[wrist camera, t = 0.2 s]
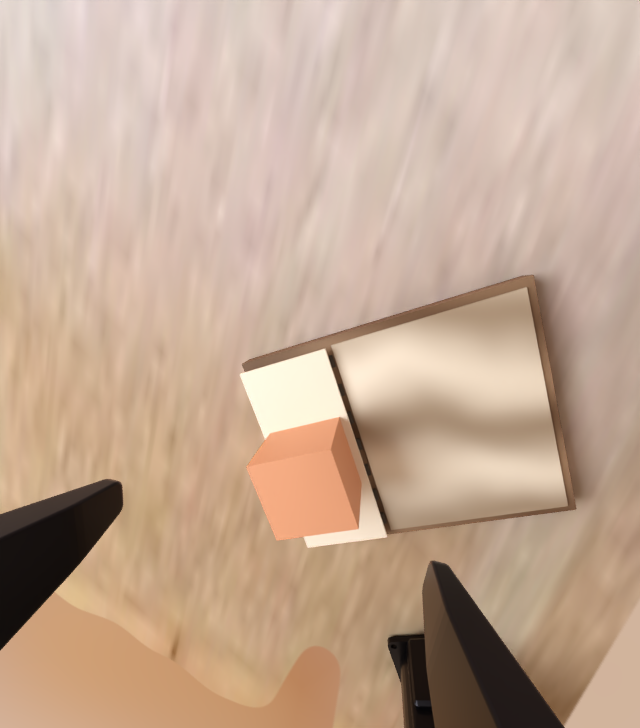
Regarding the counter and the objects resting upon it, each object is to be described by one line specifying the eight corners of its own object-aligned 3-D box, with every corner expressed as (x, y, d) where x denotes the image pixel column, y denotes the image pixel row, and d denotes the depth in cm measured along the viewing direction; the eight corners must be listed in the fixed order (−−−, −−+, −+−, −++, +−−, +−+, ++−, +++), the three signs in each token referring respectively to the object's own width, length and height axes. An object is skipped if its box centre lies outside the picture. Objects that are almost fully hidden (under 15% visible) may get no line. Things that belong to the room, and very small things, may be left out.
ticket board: (564, 495, 20) (578, 511, 19) (315, 531, 25) (311, 546, 23) (522, 275, 18) (535, 275, 16) (249, 359, 22) (240, 364, 20)
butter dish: (387, 534, 21) (389, 592, 17) (308, 545, 23) (294, 600, 19) (325, 348, 19) (311, 365, 15) (240, 373, 20) (207, 395, 16)
